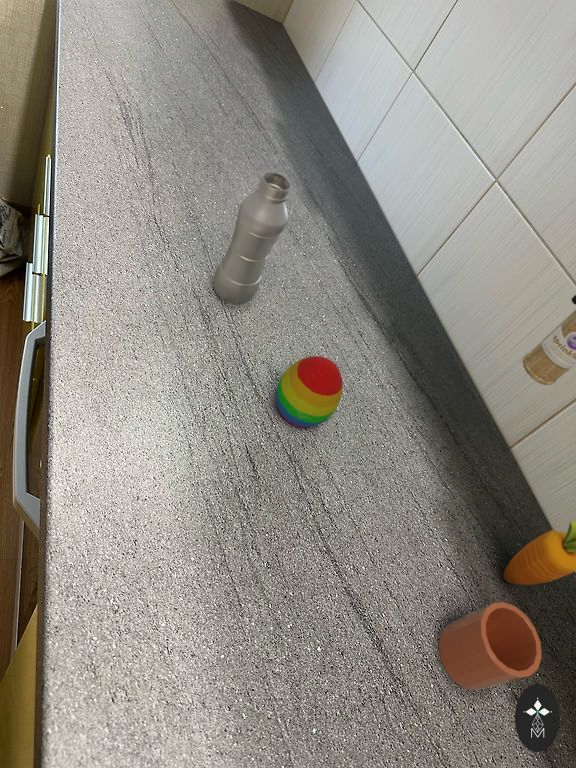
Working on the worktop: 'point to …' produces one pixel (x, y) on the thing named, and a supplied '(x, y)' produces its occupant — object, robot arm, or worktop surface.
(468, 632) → the terracotta pot
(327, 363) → the decorative egg
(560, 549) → the carrot
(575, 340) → the sprinkles bottle
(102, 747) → the worktop surface
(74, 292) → the worktop surface
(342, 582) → the worktop surface
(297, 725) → the worktop surface
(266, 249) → the plastic bottle
